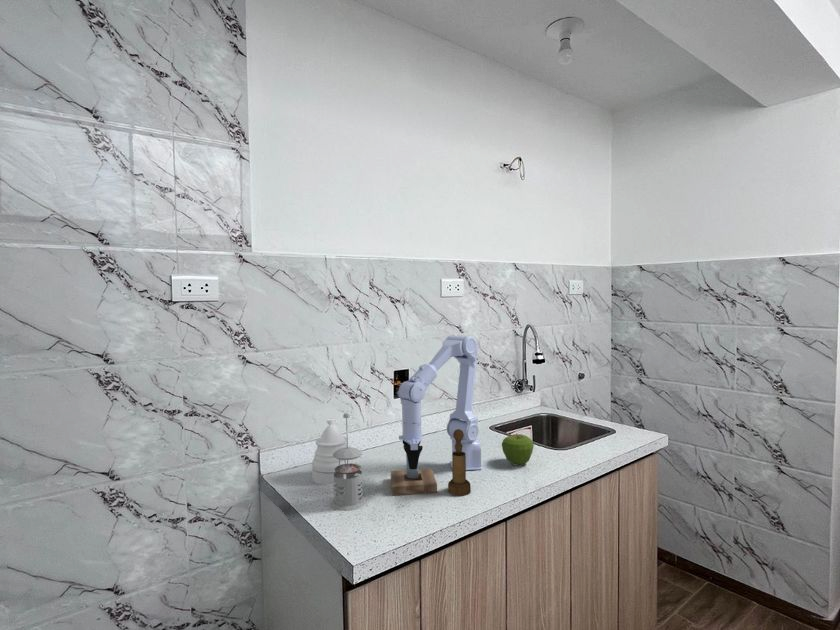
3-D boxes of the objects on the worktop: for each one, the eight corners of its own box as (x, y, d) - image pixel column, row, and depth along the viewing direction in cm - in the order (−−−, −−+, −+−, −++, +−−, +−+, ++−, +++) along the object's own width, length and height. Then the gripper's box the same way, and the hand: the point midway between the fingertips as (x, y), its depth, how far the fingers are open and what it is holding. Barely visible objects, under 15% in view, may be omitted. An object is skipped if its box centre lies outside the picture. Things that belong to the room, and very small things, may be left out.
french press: (334, 514, 114) (332, 419, 113) (326, 496, 124) (323, 410, 124) (370, 506, 117) (368, 414, 117) (359, 490, 128) (357, 406, 128)
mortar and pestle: (464, 498, 122) (463, 434, 121) (444, 493, 125) (442, 431, 125) (474, 489, 127) (473, 428, 127) (454, 484, 131) (453, 425, 130)
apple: (520, 456, 154) (520, 428, 154) (540, 465, 145) (540, 436, 145) (495, 461, 150) (495, 433, 149) (515, 471, 140) (514, 441, 140)
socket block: (431, 476, 137) (431, 468, 137) (437, 492, 125) (436, 484, 125) (390, 479, 136) (390, 471, 136) (392, 495, 124) (392, 486, 124)
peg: (418, 473, 133) (417, 447, 132) (419, 477, 129) (418, 451, 129) (406, 474, 132) (405, 448, 132) (407, 478, 129) (406, 451, 128)
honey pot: (310, 472, 143) (309, 418, 143) (349, 466, 147) (347, 414, 147) (314, 487, 131) (313, 428, 131) (356, 480, 135) (355, 423, 135)
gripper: (397, 416, 137) (398, 458, 137) (399, 428, 123) (400, 476, 123) (419, 415, 138) (420, 457, 138) (424, 427, 123) (425, 474, 124)
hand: (412, 466), depth 131 cm, fingers closed on peg, 4 cm apart
